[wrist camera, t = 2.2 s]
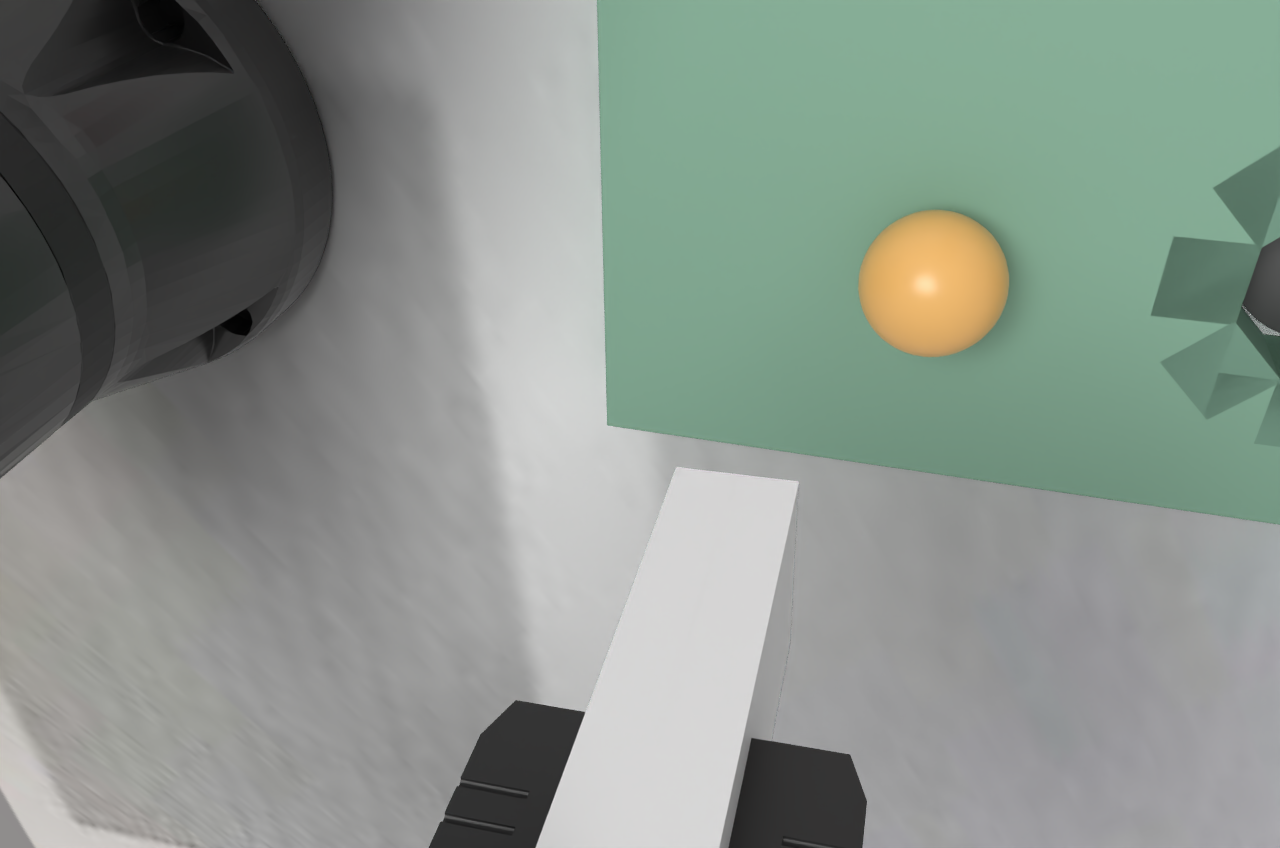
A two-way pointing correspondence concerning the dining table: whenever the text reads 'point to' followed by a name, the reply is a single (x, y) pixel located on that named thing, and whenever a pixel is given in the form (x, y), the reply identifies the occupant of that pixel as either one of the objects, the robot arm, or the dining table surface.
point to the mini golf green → (970, 185)
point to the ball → (933, 283)
